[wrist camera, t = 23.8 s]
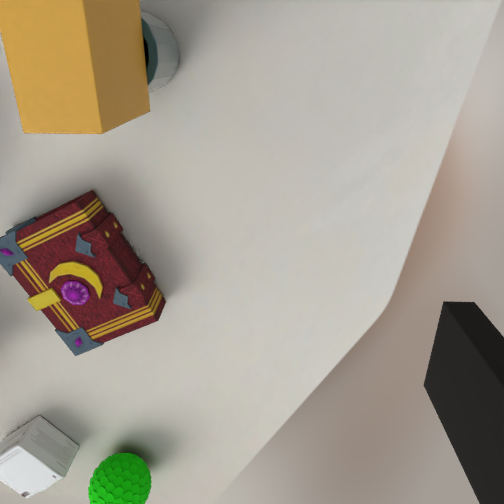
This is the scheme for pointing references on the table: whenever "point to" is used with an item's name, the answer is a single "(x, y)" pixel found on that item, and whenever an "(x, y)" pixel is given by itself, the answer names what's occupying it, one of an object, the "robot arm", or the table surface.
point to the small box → (35, 457)
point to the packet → (75, 63)
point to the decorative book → (82, 273)
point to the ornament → (120, 481)
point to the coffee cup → (158, 51)
